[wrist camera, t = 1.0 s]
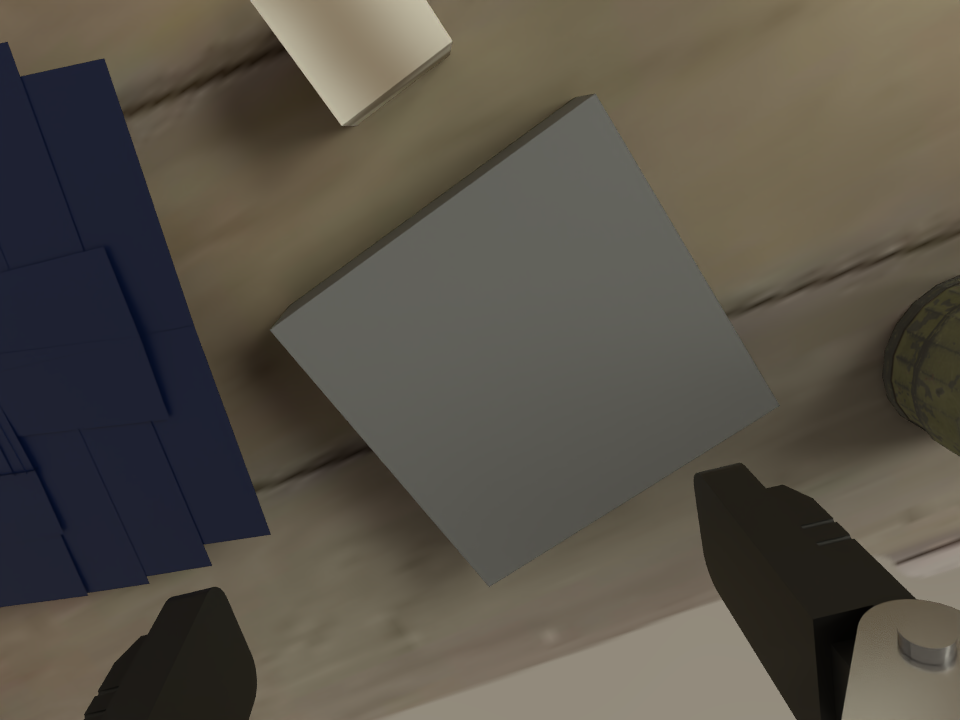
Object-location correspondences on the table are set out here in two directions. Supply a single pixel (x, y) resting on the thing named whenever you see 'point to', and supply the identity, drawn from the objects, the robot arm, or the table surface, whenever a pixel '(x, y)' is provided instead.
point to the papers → (98, 360)
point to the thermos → (928, 364)
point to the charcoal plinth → (530, 345)
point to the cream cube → (358, 48)
